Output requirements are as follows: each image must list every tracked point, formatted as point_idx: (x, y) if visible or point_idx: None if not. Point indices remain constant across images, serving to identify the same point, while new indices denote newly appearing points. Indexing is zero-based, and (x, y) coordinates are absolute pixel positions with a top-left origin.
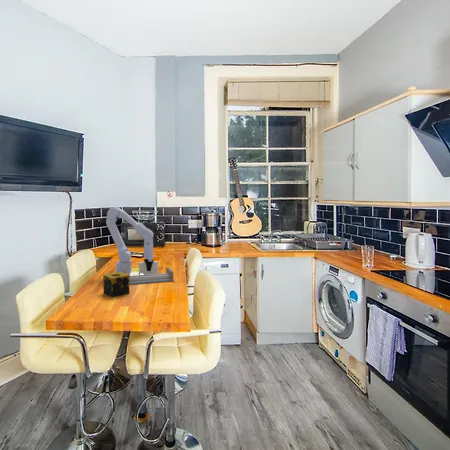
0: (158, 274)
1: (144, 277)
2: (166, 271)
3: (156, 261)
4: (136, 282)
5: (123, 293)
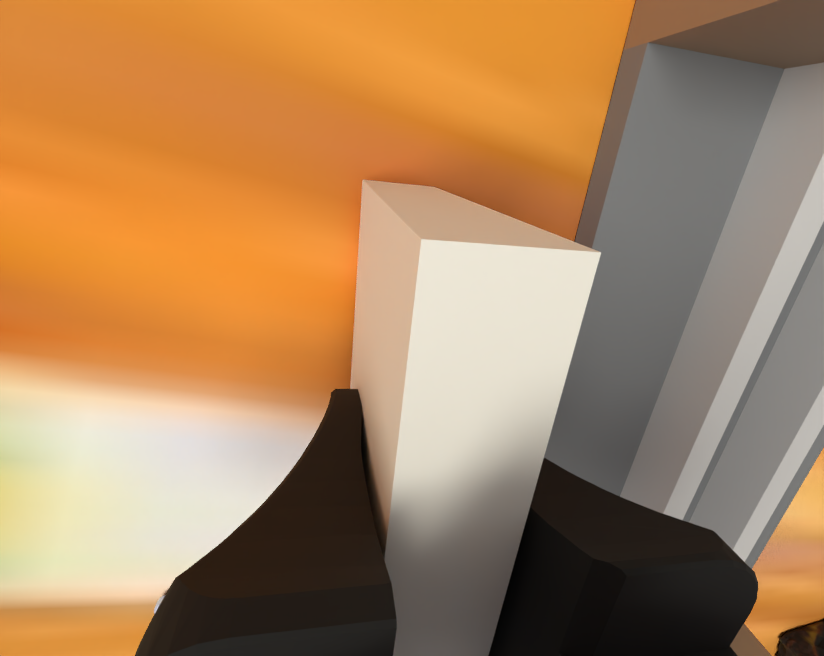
0: (782, 290)
1: (762, 508)
2: (764, 27)
3: (452, 322)
4: (751, 555)
5: None
